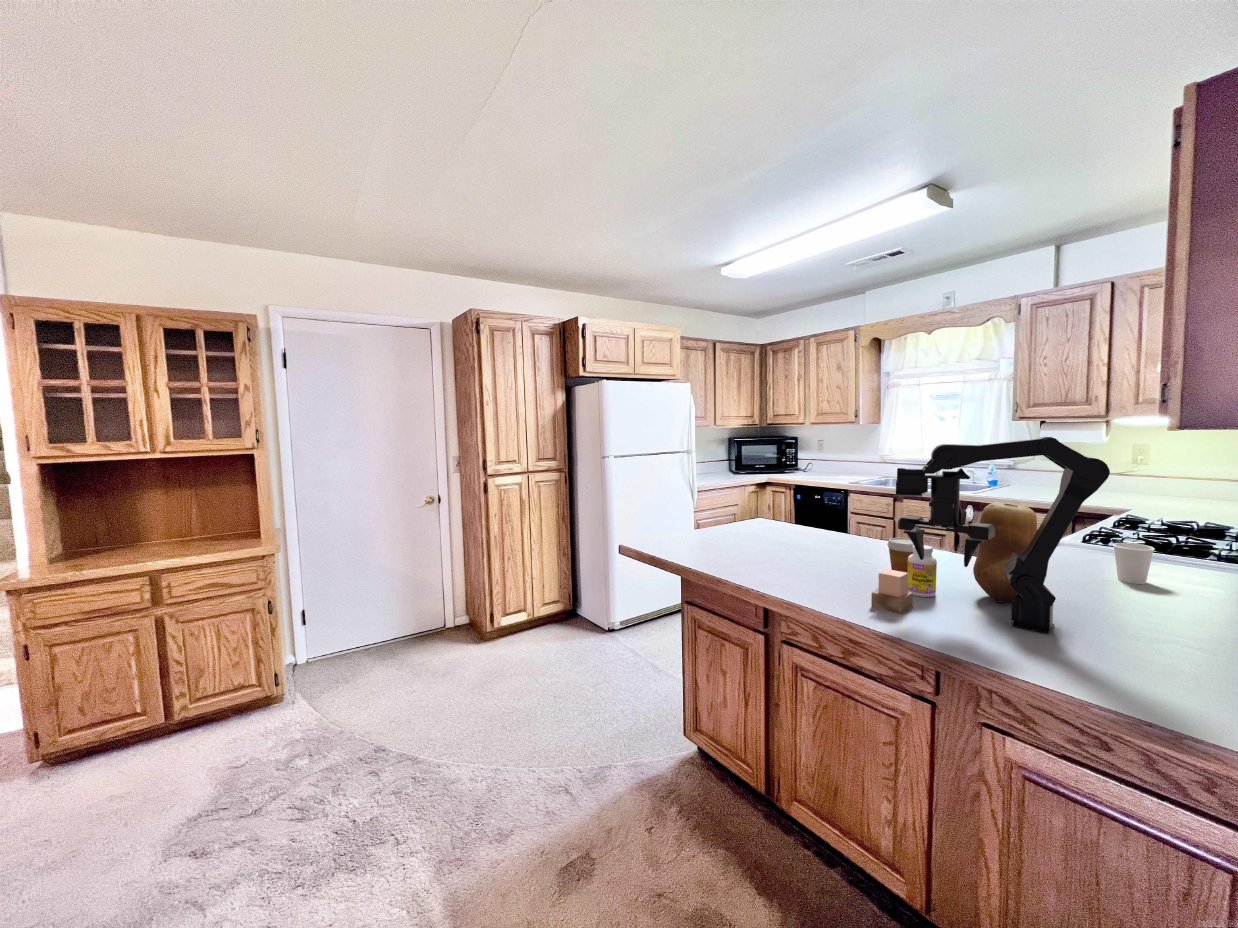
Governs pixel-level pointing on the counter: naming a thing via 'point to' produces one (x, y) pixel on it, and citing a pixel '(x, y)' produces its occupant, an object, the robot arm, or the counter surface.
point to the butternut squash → (1003, 546)
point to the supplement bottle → (922, 573)
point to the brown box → (892, 602)
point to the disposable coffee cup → (900, 553)
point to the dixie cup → (1132, 562)
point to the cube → (893, 583)
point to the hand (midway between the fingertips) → (943, 562)
